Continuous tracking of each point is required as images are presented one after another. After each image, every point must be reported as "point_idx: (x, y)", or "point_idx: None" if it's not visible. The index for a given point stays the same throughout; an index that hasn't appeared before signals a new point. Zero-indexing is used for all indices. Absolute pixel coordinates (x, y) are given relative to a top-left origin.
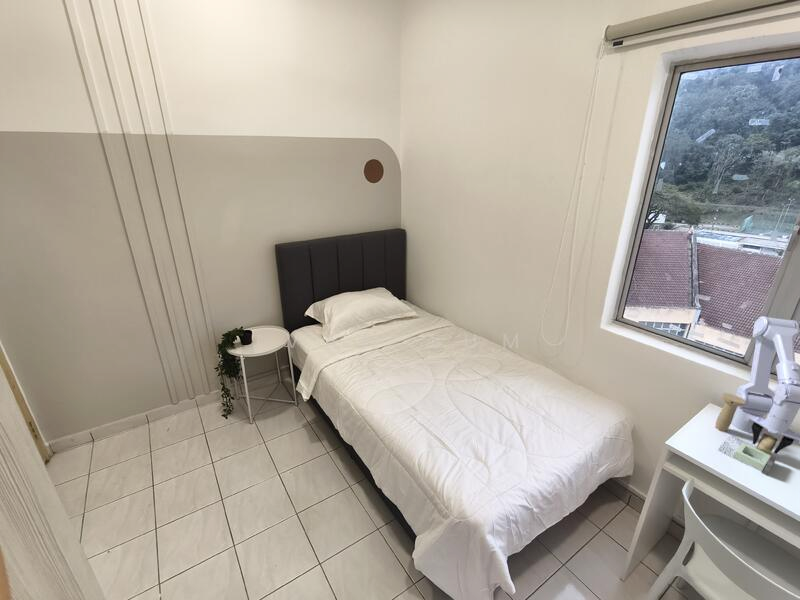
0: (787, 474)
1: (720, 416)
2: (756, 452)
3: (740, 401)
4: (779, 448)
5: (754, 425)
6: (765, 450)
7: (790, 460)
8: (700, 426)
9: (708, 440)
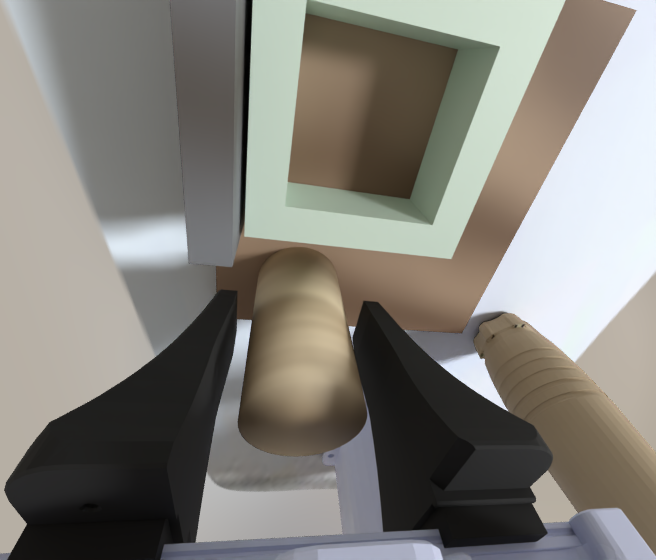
0: (116, 174)
1: (623, 415)
2: (345, 208)
3: None
4: (197, 337)
5: (511, 490)
6: (291, 281)
7: (164, 344)
8: (599, 294)
9: (607, 171)
